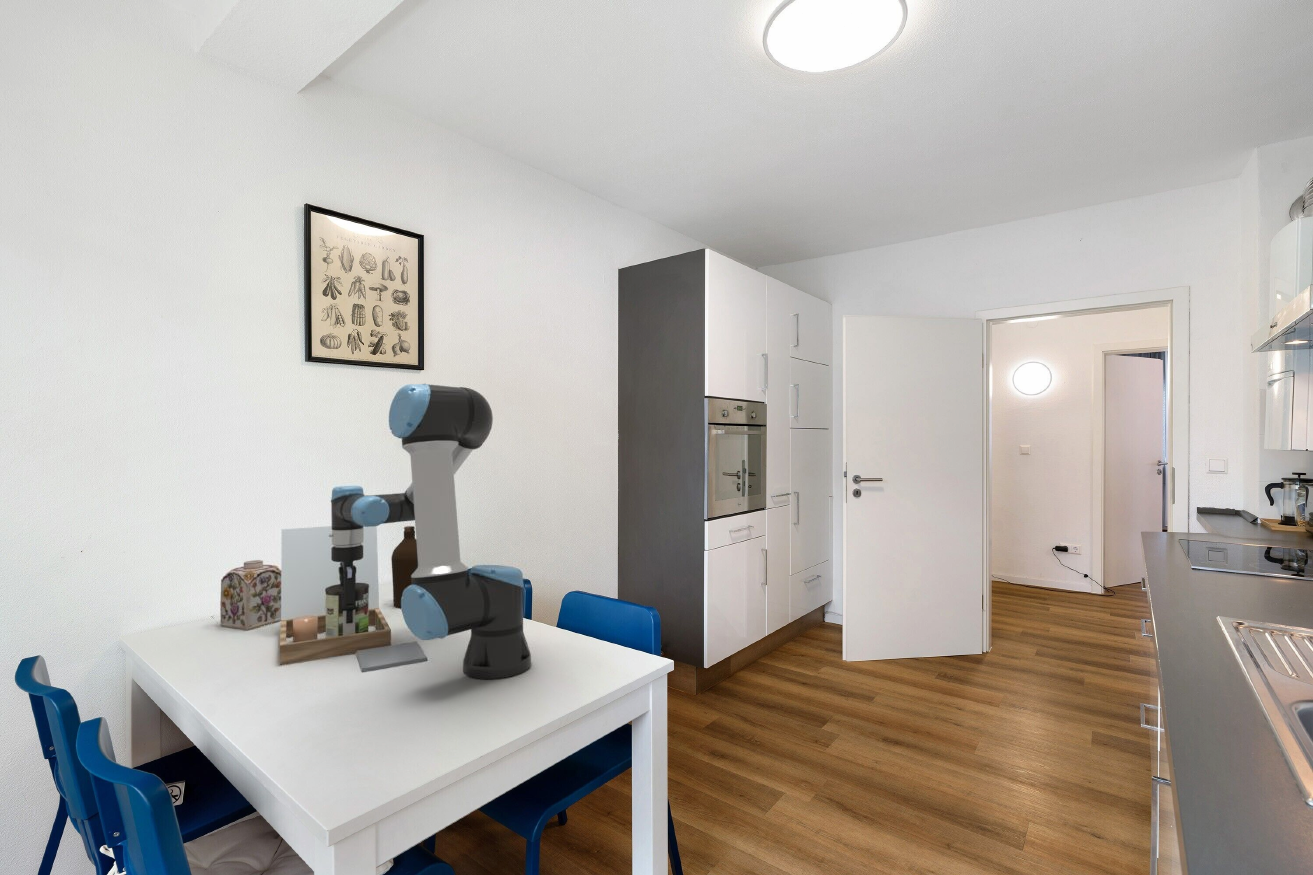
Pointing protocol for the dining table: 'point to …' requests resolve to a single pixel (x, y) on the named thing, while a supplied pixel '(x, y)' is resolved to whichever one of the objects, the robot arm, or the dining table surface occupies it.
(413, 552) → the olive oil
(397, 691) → the dining table surface
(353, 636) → the open wooden box
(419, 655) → the plate
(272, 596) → the decorative jar
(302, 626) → the pink pillar candle
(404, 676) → the dining table surface
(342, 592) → the coffee can
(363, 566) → the pale grey square panel
